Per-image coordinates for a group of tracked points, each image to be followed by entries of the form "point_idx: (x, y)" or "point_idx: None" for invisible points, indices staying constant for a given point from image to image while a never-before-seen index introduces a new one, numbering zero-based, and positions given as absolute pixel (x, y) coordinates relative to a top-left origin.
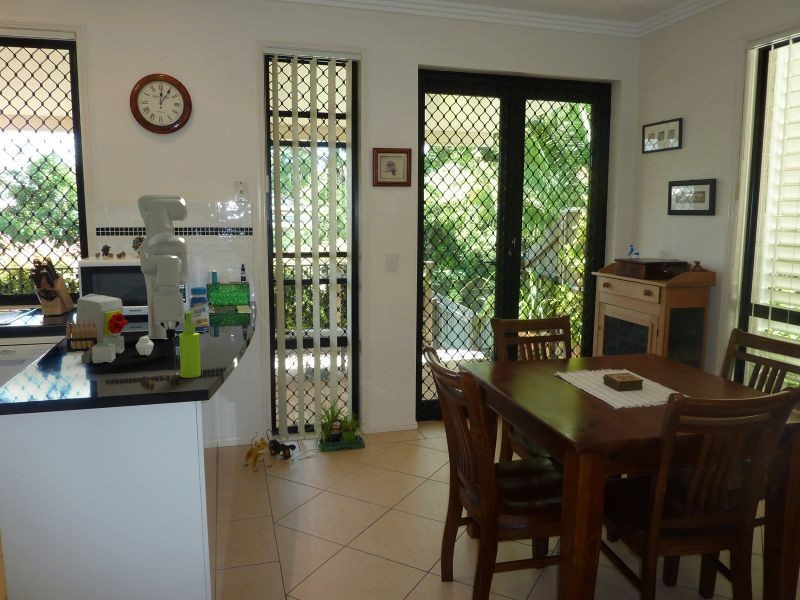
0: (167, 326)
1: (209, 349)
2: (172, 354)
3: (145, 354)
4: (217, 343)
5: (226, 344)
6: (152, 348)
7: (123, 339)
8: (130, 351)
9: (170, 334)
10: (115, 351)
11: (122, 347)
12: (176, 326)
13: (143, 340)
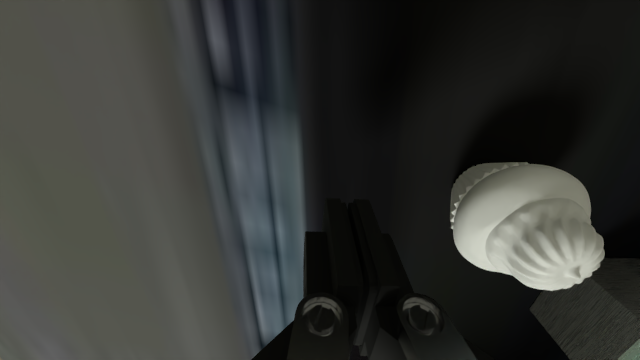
0: (417, 340)
1: (117, 242)
2: (324, 152)
3: (486, 163)
4: (128, 356)
5: (70, 333)
6: (456, 200)
7: (578, 357)
8: (514, 283)
9: (353, 238)
10: (600, 264)
11: (567, 299)
12: (274, 345)
13: (574, 220)
